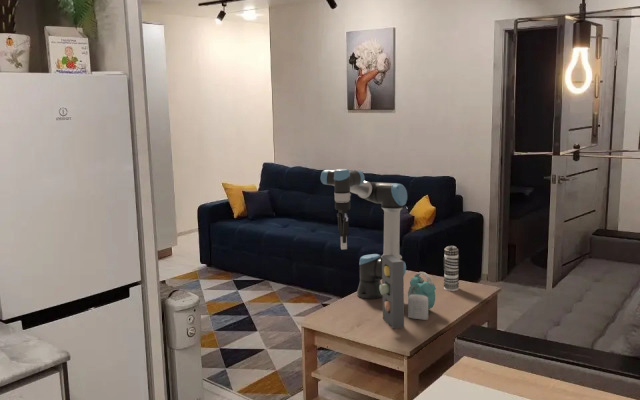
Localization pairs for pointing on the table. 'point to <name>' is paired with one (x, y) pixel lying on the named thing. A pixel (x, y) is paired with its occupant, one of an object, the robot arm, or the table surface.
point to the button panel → (394, 291)
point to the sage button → (384, 288)
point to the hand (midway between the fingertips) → (343, 248)
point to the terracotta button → (387, 305)
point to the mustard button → (387, 270)
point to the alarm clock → (423, 288)
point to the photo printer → (418, 307)
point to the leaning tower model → (451, 268)
